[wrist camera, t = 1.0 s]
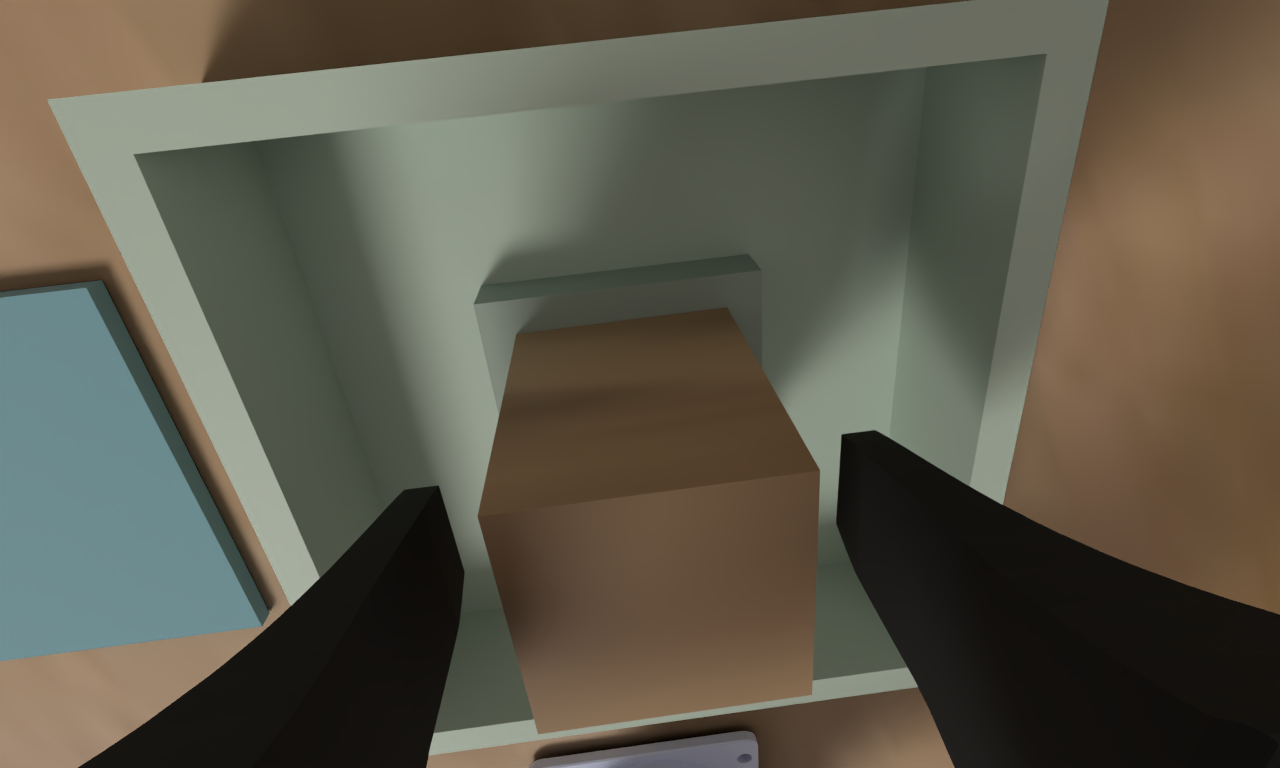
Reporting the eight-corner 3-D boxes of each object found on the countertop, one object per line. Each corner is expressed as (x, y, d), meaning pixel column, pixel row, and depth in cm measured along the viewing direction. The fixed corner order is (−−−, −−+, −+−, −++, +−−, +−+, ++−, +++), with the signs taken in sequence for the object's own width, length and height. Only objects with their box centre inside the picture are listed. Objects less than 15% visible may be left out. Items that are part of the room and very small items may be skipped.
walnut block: (734, 478, 16) (811, 695, 11) (551, 502, 16) (537, 734, 10) (726, 307, 14) (819, 470, 8) (516, 334, 14) (477, 516, 8)
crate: (889, 556, 20) (965, 680, 16) (409, 620, 20) (367, 763, 16) (952, 3, 13) (1113, -15, 9) (211, 82, 13) (48, 100, 9)
